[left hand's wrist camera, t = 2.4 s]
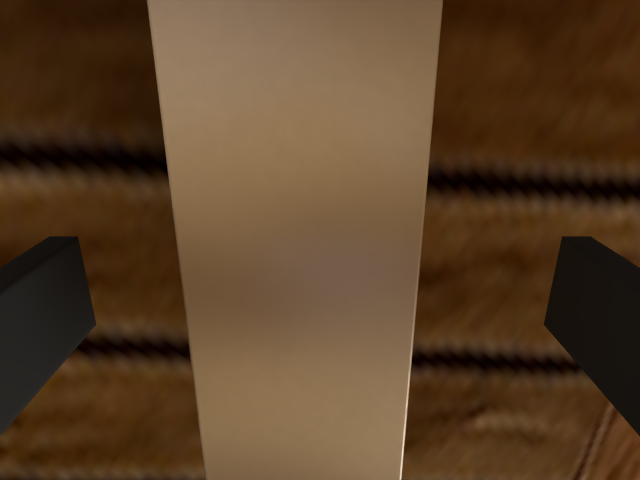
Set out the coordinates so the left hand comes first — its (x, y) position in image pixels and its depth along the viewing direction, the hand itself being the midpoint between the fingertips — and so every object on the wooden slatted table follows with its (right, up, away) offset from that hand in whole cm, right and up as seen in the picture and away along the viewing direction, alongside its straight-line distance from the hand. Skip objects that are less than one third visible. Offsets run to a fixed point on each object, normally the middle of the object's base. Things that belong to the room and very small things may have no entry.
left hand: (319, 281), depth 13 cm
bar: (-1, +9, +3) cm, 9 cm away
